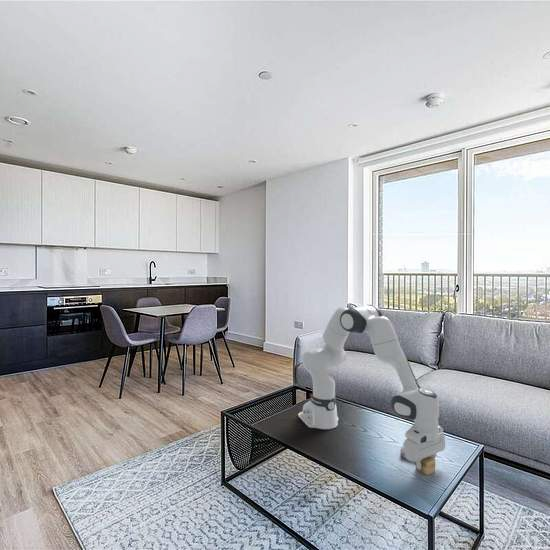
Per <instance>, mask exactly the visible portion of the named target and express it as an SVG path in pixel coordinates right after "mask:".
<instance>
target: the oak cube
mask: <svg viewBox="0 0 550 550" xmlns="http://www.w3.org/2000/svg"><path fill="white" fill-rule="evenodd" d="M420 462H421V464H423V468H422V469H420V470H419V469H418V468H417V467H416V466H417V463H416V462H415V469H416V470H417V471H419V472H420V473H421V474H423V475H426V476H429V475H431V474H434V473H435V472H436V458H435V459H434V458H432V457H430V456H428V457H426V458H423V459H421V461H420Z"/></svg>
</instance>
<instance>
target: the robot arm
mask: <svg viewBox="0 0 550 550" xmlns="http://www.w3.org/2000/svg"><path fill="white" fill-rule="evenodd" d="M330 317H331V318H330V319H329V321H328V323H327V325H326V326H325V327H326V328H325V330H324V332H323V334H322V339H323V341H324V343H325V344H324V345H323V346H321V347H315V348H311V349H309V350H307V351H305V352H304V353H303V354H302V357H301V363H302V365H303V368H304V369H306V371H307V372H308V373H309V375H310V376H311V380H312V393H310V394H309V396H310V397H311V398H310V400H308V401H307V402H306V403H304V404H303V406H302V411H300V412H299V413H298V414H297V416H298V418H299V419H300V420H302V422H303V423H304V424H305V425H306V426H307V427H308V428H310V429H314V428H315V429H320V430H331V429H334V428H336V427H338V425H339V423H338V422H339V420H340V419H339V417H338V409H337V404H336V403H337V401H336V400H337V397H336V381H335V380H334V378H333V377H332V376H330V375H329V373H328V372H329V369H333V368H337V367H338V366H341V365H342V364H344V363H345V362H346V360H347V353H346V351H345V349H344V346H345V344H346V341H347V339H348V337H349V335H350V334H351V333H356V334H363V332H365V333H366V334H367V335H368V336H369V338H370V343H371V346H372V349H373V352H374V354H375V356H376V358H377V360H379V361H380V362H382V363H384V364H387V365H389V366H391V367H392V368H394V369H395V371H396V373H397V376H398V379H399V381H400V382H401V385H402V391H400V392H398V393H396V394H395V395H394V396H392V397H391V399H390V408H391V411H392V412H393V414H394V415H395V416H397V417H398V418H399V419H405V420H413V423H414V424H412V425H411V426H410V428H409V429H408V430H407V431H405V434H404V436H405V438H406V439H405V440H406V442H405V457H406V458H407V459H406V460H407V461H410V462H411V463H415V464H416V463H417V466H416V465H415V468H416V467H417V468H418V469H419V470H420V469H422V468H423V464H421V462H420V461H421V459H423V458H426V457H428V456H430V457H432V458H434V459H435V460H436V456H437V454H438V453H440V452H443V451H444V450H445V449H446V438H445V437H446V436H445V433H444V429H443V427H442V426H440V425H439V421H438V420H439V416H440V406H439V405H440V404H439V397H438V396H437V394H436V393H435V392H434V391H433V390H431V389H429V388H424V387H421V386H420V385H419V383H418V380H417V378H416V376H415V373H414V372H413V369H412V367H411V364H410V362H409V361H408V358H407V356H406V355H405V353H404V351H403V349H402V346H401V344H400V340H399V337H398V336H397V332H396V330H395V328H394V326H393V324H392V322H391V320H390V319H389V318H388V317H386V316H383V312H382V310H381V309H380V308H379V306H377V305H374V304H365V305H358V306H355V307H352V308H351V307H350V308H348V307H346V306H341V307H338V308H337V309H336V310H335V311H334V313H333V314H332V316H330ZM419 470H418V471H419Z"/></svg>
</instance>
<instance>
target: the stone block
mask: <svg viewBox="0 0 550 550" xmlns="http://www.w3.org/2000/svg"><path fill="white" fill-rule="evenodd" d="M403 441H404V442H403V443H402V447H401V448H400V457H401V458H402V459H405V460H408V459H407V458H406V457H405V442H406V439H404V440H403Z"/></svg>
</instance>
